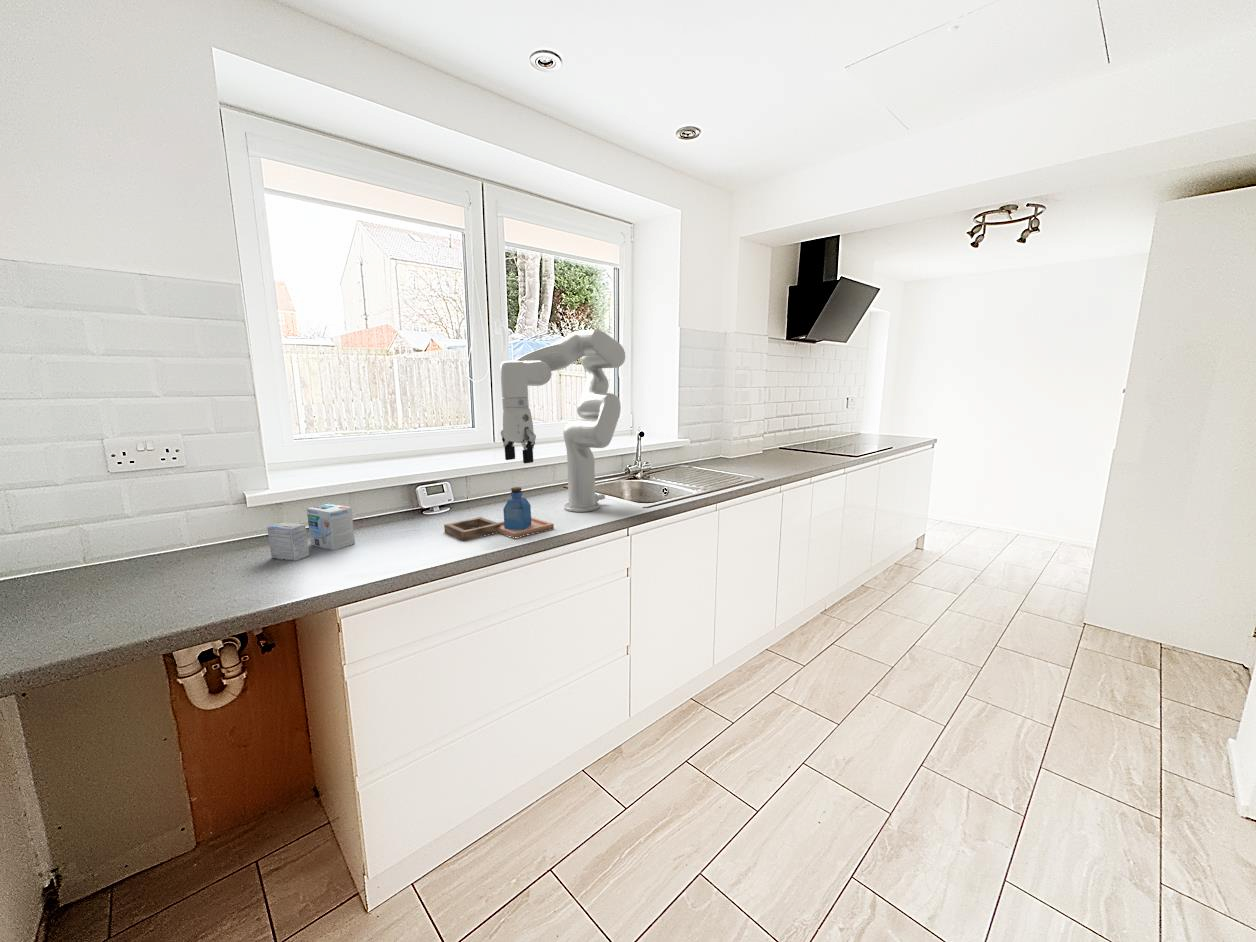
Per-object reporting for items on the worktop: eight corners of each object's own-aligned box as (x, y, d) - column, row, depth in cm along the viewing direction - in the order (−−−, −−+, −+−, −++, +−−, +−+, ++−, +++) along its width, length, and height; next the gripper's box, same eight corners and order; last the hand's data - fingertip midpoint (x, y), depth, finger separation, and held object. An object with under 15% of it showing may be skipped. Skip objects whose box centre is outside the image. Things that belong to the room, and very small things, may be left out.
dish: (527, 520, 164) (527, 515, 164) (553, 528, 154) (553, 523, 154) (489, 529, 154) (489, 524, 154) (514, 538, 144) (514, 533, 144)
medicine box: (310, 555, 132) (306, 524, 130) (294, 561, 127) (290, 528, 126) (286, 553, 134) (282, 522, 132) (270, 559, 130) (266, 526, 128)
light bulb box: (309, 545, 141) (305, 507, 139) (333, 538, 147) (329, 502, 145) (333, 550, 136) (328, 512, 134) (356, 543, 142) (352, 506, 140)
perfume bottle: (531, 524, 157) (529, 486, 155) (523, 529, 151) (522, 490, 149) (512, 523, 158) (510, 486, 156) (504, 528, 152) (502, 490, 150)
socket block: (480, 524, 160) (480, 516, 159) (500, 531, 151) (500, 523, 151) (444, 532, 151) (444, 524, 151) (463, 540, 143) (463, 532, 143)
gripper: (543, 403, 144) (546, 462, 148) (510, 402, 156) (514, 456, 160) (521, 405, 139) (524, 466, 142) (489, 403, 151) (493, 459, 154)
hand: (519, 461), depth 151 cm, fingers open, 9 cm apart
